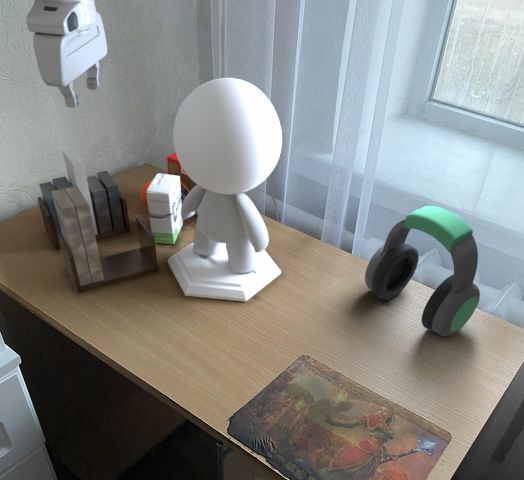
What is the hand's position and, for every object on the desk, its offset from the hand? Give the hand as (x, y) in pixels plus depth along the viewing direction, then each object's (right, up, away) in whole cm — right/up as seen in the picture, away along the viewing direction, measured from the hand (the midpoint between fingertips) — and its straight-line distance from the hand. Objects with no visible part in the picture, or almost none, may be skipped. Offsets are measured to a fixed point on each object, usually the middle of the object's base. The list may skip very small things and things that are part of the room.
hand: (83, 97), depth 97 cm
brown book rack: (+3, -31, +8) cm, 32 cm away
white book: (-5, -20, +17) cm, 27 cm away
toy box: (+20, -15, +25) cm, 35 cm away
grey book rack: (-5, -21, +18) cm, 28 cm away
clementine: (+8, -14, +26) cm, 31 cm away
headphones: (+61, -39, +3) cm, 72 cm away
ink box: (+12, -21, +19) cm, 31 cm away
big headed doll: (+25, -30, +10) cm, 40 cm away
